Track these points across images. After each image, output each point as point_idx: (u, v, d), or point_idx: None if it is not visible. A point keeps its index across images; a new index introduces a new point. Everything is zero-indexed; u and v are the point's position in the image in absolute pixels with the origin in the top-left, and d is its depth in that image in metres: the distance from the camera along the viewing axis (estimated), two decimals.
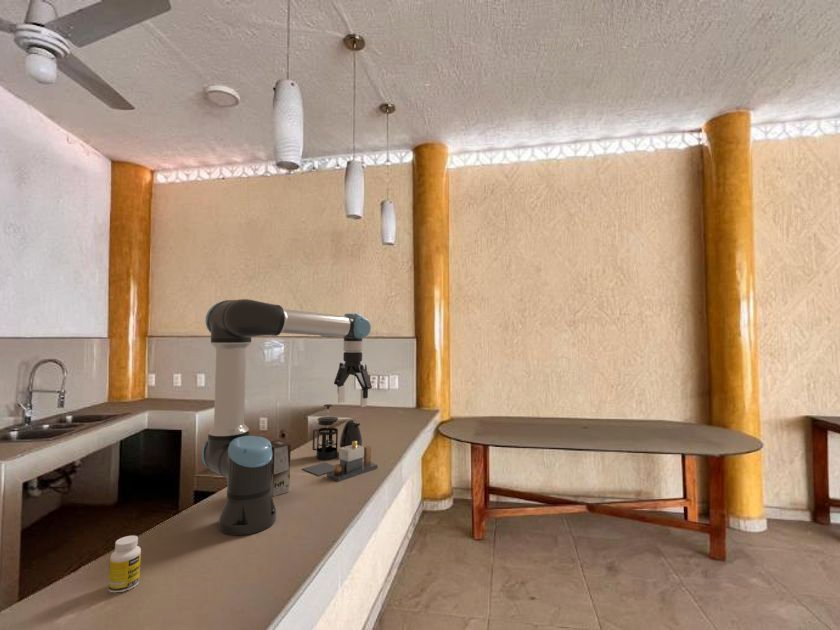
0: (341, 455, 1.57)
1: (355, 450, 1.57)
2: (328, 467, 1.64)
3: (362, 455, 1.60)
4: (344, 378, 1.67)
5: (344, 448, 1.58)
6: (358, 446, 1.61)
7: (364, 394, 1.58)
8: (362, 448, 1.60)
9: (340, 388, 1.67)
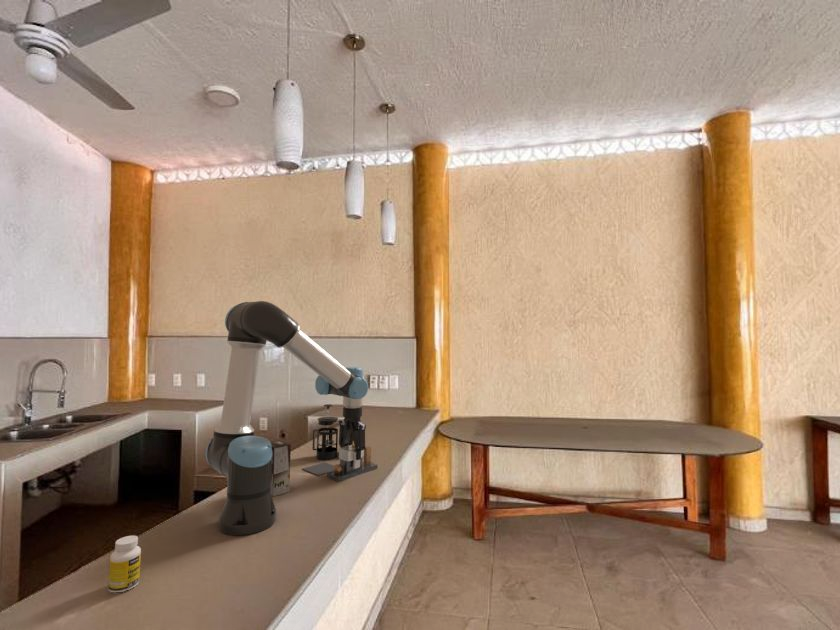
0: (341, 455, 1.57)
1: None
2: (328, 467, 1.64)
3: (362, 455, 1.60)
4: (347, 436, 1.61)
5: (344, 448, 1.58)
6: None
7: (357, 456, 1.56)
8: None
9: None
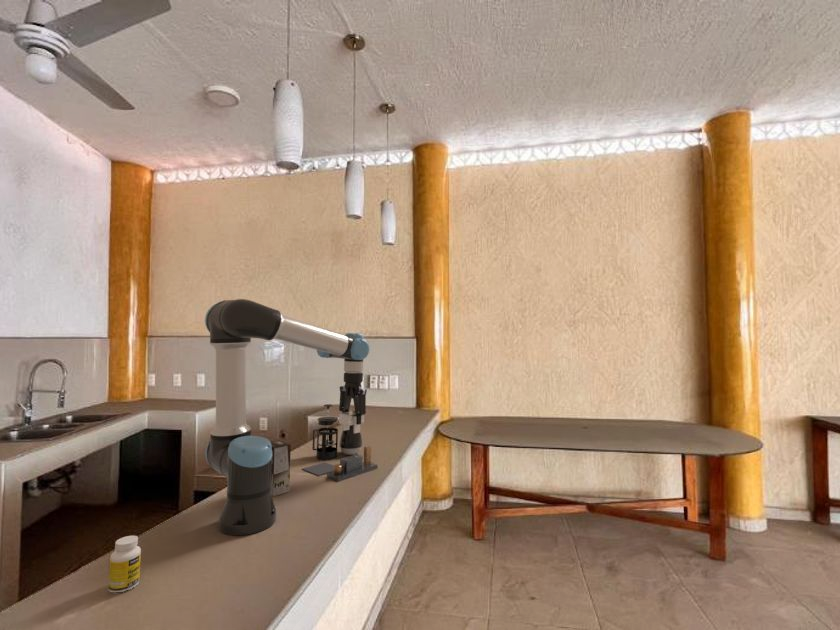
0: (341, 420, 1.58)
1: None
2: (328, 467, 1.64)
3: (362, 421, 1.61)
4: (347, 402, 1.61)
5: (344, 413, 1.58)
6: (358, 412, 1.61)
7: (357, 420, 1.57)
8: None
9: None
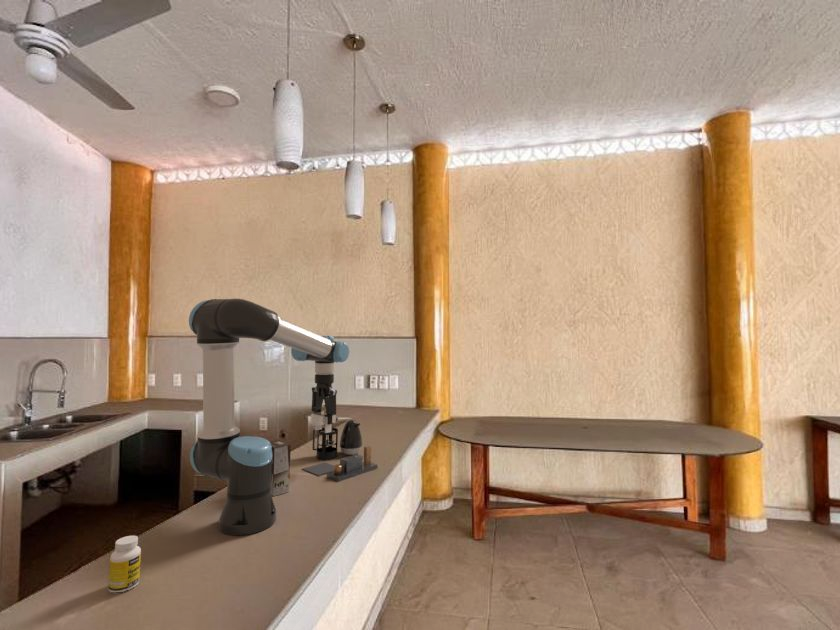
0: (313, 420, 1.62)
1: None
2: (328, 467, 1.64)
3: (334, 420, 1.65)
4: (319, 402, 1.65)
5: (316, 413, 1.62)
6: None
7: (328, 420, 1.61)
8: None
9: None
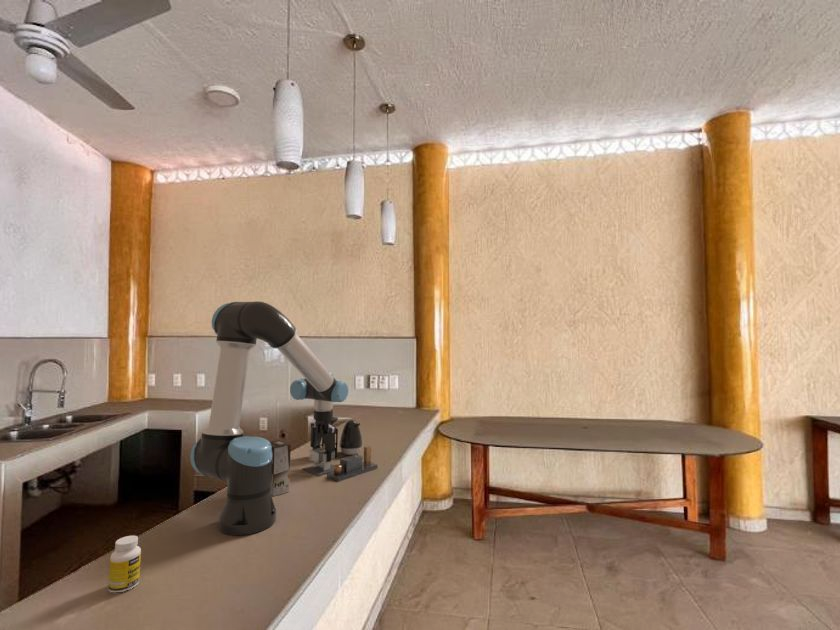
0: (311, 457, 1.61)
1: None
2: None
3: (333, 457, 1.64)
4: (318, 439, 1.65)
5: (315, 450, 1.62)
6: None
7: (327, 458, 1.60)
8: None
9: None
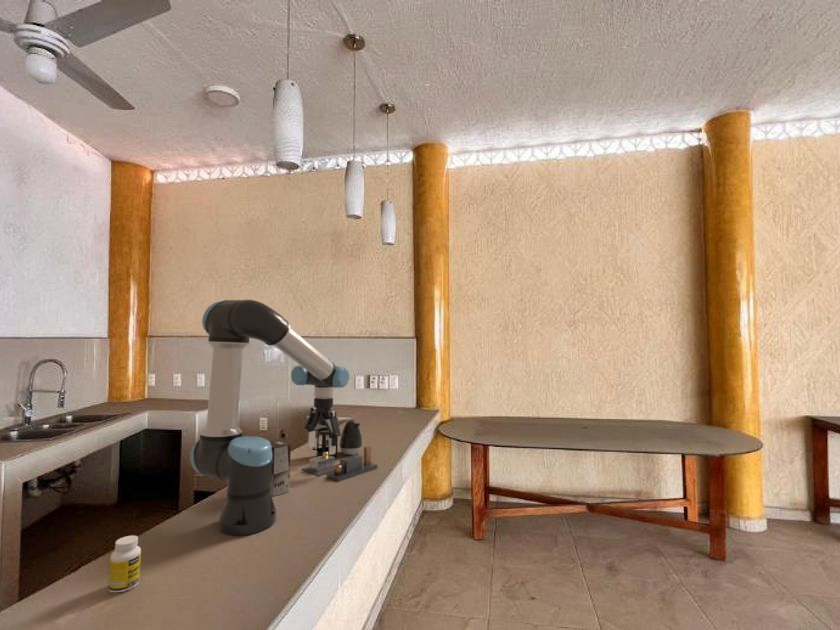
0: (311, 466, 1.61)
1: (325, 461, 1.61)
2: None
3: (333, 466, 1.64)
4: (315, 423, 1.66)
5: (315, 459, 1.62)
6: (329, 457, 1.65)
7: (333, 442, 1.58)
8: (333, 459, 1.64)
9: (310, 433, 1.67)
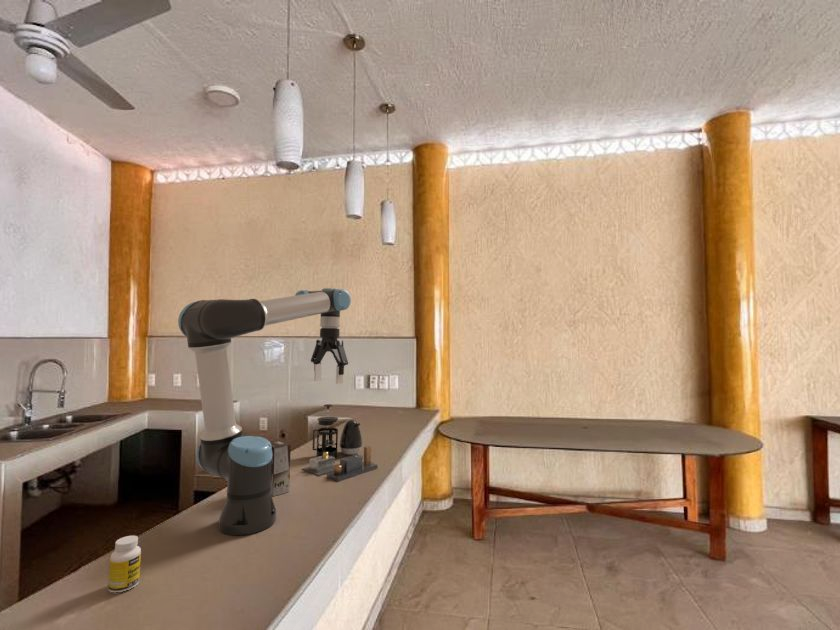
0: (311, 466, 1.61)
1: (325, 461, 1.61)
2: None
3: (333, 466, 1.64)
4: (321, 355, 1.62)
5: (315, 459, 1.62)
6: (329, 457, 1.65)
7: (340, 370, 1.54)
8: (333, 459, 1.64)
9: (316, 366, 1.63)
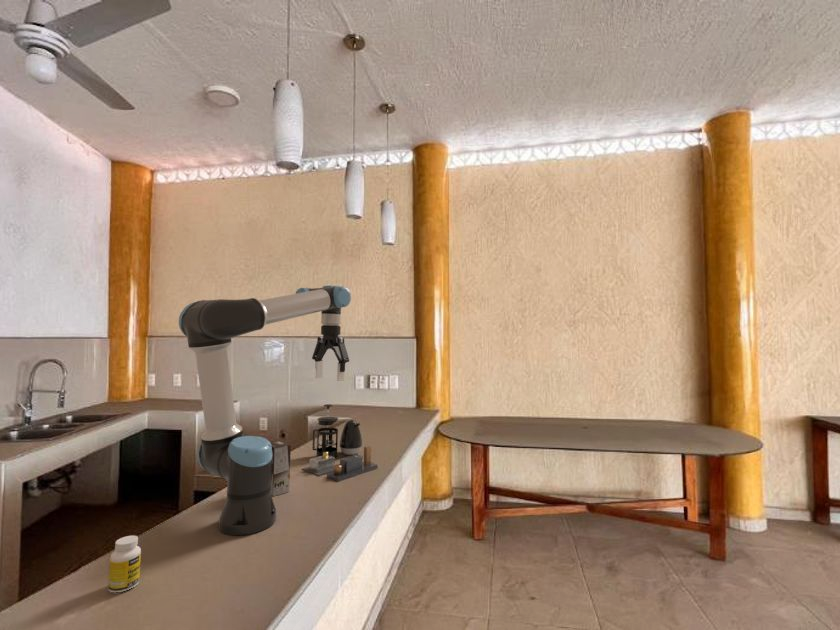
0: (311, 466, 1.61)
1: (325, 461, 1.61)
2: None
3: (333, 466, 1.64)
4: (322, 353, 1.62)
5: (315, 459, 1.62)
6: (329, 457, 1.65)
7: (341, 368, 1.54)
8: (333, 459, 1.64)
9: (318, 363, 1.63)
